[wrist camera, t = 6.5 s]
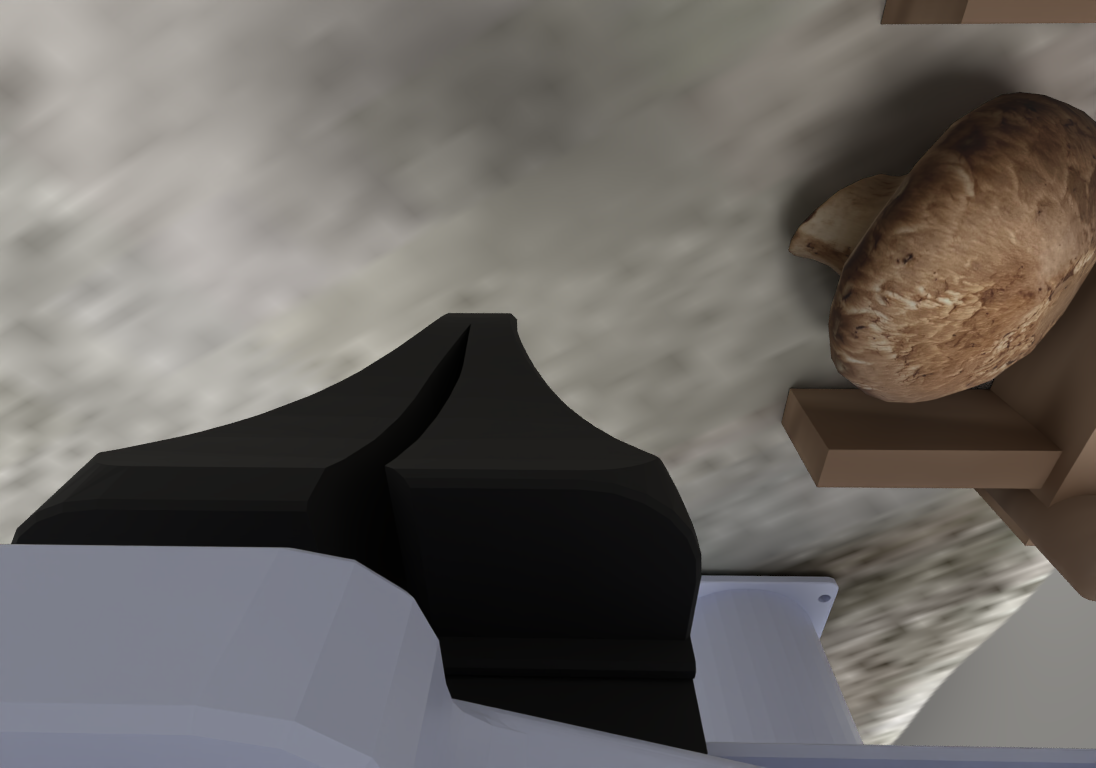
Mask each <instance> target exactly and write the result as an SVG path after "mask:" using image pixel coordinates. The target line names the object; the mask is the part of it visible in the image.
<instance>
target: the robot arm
mask: <svg viewBox="0 0 1096 768" xmlns="http://www.w3.org/2000/svg"><path fill="white" fill-rule="evenodd" d="M838 588H839V587H838V585H837V583H836V581H835V580H834V579H833V578H831V577H813V576H707V575H701V551H700V548H699V544H698V539H697V536H696V533H695V530H694V527H693V524H692V522H691V519H690V517H689V515H688V512H687V510H686V508H685V505H684V503H683V501H682V499H681V497H680V495H679V492H678V490H677V488H676V486H675V484H674V483H673V481H672V479H671V477H670V475H669V473H668V471H667V469H666V468H665V466H664V464H663V462H662V461H661V460H660V458H659V457H657V456H654V455H652V454H650V453H647V452H645V451H643V450H640V449H638V448H636V447H634V446H631V445H629V444H627V443H624V442H622V441H620V440H618V439H616V438H614V437H612V436H610V435H609V434H607V433H605V432H603V431H602V430H600V429H598V428H597V427H595V426H593V425H592V424H590V423H589V422H587V421H586V420H584V419H583V418H582V417H580V416H579V415H578V414H577V413H575V412H574V411H573V410H572V409H570V408H569V407H568V406H567V405H566V404H565V403H564V402H563V401H562V400H561V399H560V398H559V397H558V396H557V395H556V394H555V393H554V392H553V391H552V390H551V388H550V387H549V386H548V385H547V383H546V382H545V381H544V380H543V378H542V377H541V375H540V374H539V372H538V371H537V370H536V368H535V367H534V365H533V363H532V362H531V360H530V358H529V356H528V354H527V353H526V351H525V349H524V347H523V345H522V342H521V340H520V338H519V335H518V332H517V319H516V318H515V317H514V316H513V315H512V314H511V313H448V314H446V315H444V316H442V317H440V318H439V319H437V320H436V321H435V322H433V323H432V324H430V325H429V326H428V327H426V328H425V329H423V330H422V331H421V332H419V333H418V334H416V335H415V336H414V337H412V338H411V339H409V340H408V341H406V342H405V343H404V344H402V345H401V346H399V347H398V348H396V349H395V350H393V351H392V352H390V353H389V354H387V355H385V356H384V357H382V358H381V359H379V360H377V361H376V362H374V363H373V364H371V365H369V366H368V367H366V368H364V369H363V370H361V371H359V372H358V373H356V374H354V375H352V376H350V377H348V378H346V379H344V380H343V381H341V382H339V383H336V384H334V385H332V386H330V387H328V388H326V389H324V390H322V391H320V392H317V393H315V394H313V395H310V396H308V397H305V398H303V399H300V400H297V401H295V402H292V403H290V404H287V405H284V406H282V407H279V408H276V409H274V410H271V411H268V412H266V413H263V414H260V415H257V416H254V417H251V418H247V419H244V420H241V421H238V422H234V423H231V424H228V425H224V426H220V427H216V428H213V429H209V430H205V431H202V432H198V433H194V434H189V435H185V436H181V437H177V438H172V439H167V440H162V441H157V442H152V443H147V444H142V445H137V446H132V447H127V448H122V449H117V450H112V451H106V452H100V453H98V454H97V455H95V456H94V457H93V458H92V459H91V460H90V461H89V462H88V463H87V464H86V465H85V466H84V467H83V468H81V469H80V470H79V471H78V472H77V473H76V474H75V475H74V476H73V477H72V478H71V479H70V480H69V481H68V482H66V483H65V484H64V485H63V486H62V487H61V488H60V489H59V490H58V491H57V492H56V493H55V494H54V495H52V496H51V497H50V498H49V499H48V500H47V501H46V502H45V503H44V504H43V505H42V506H41V507H40V508H39V509H37V510H36V511H35V512H34V513H33V514H32V515H31V516H30V517H29V518H28V519H27V520H26V521H25V522H24V523H22V524H21V525H20V526H19V527H18V528H17V530H16V532H15V535H14V538H13V540H12V543H11V544H0V768H1096V749H1078V748H1076V749H1075V748H1023V747H969V746H968V747H967V746H914V745H864V744H863V742H862V739H861V737H860V734H859V732H858V730H857V727H856V725H855V723H854V720H853V718H852V716H851V713H850V711H849V708H848V706H847V704H846V701H845V699H844V697H843V694H842V692H841V690H840V687H839V685H838V682H837V680H836V678H835V675H834V673H833V671H832V668H831V666H830V664H829V661H828V659H827V656H826V654H825V652H824V649H823V647H822V645H821V642H820V640H819V639H820V637H821V634H822V632H823V629H824V626H825V624H826V621H827V618H828V616H829V613H830V611H831V608H832V605H833V603H834V600H835V598H836V595H837V592H838Z"/></svg>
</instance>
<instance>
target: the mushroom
mask: <svg viewBox="0 0 1096 768" xmlns="http://www.w3.org/2000/svg"><path fill="white" fill-rule="evenodd" d="M789 252H790V253H792V254H793V255H795V256H799V257H804V258H809V259H814V260H816V261H818V262H821V263H823V264H825V265H828V266H830V267H831V268H832V269H833V270H834V271H835V272H837V273H838V274H839V275H840V279H839V282H838V286H837V289H836V292H835V295H834V298H833V302H832V305H831V308H830V315H829V323H828V326H829V337H830V348H831V358H832V360H833V362H834V364H835V366H836V368H837V370H838V372H839V373H840V374H841V375H843V376H844V377H845V378H846V379H848V380H849V381H850V382H851V383H853V384H854V385H855V386H856V387H858V388H859V389H860V390H861V391H863V392H864V393H865V394H866V395H869V396H872V397H875V398H878V399H880V400H883V401H886V402H899V403H915V402H921V401H928V400H934V399H937V398H940V397H944V396H947V395H950V394H953V393H956V392H960V391H963V390H966V389H969V388H972V387H975V386H977V385H980V384H983V383H985V382H988V381H991V380H993V379H994V378H995V377H996V376H998V375H999V374H1000V373H1002V372H1003V371H1004V370H1006V369H1007V368H1008V367H1010V366H1011V365H1012V364H1014V363H1015V362H1017V361H1018V360H1020V359H1022V358H1023V357H1025V356H1026V355H1028V354H1029V353H1031V352H1032V350H1033V349H1034V348H1035V347H1036V346H1037V344H1038V343H1039V342H1040V341H1041V340H1042V338H1043V337H1044V336H1045V335H1046V334H1047V332H1048V331H1049V330H1050V329H1051V328H1052V327H1053V325H1054V324H1055V323H1056V322H1057V321H1058V319H1059V318H1060V317H1061V316H1062V315H1063V313H1064V312H1065V310H1066V309H1067V307H1068V306H1069V304H1070V302H1071V301H1072V299H1073V298H1074V296H1075V294H1076V293H1077V291H1078V290H1079V288H1080V287H1081V285H1082V283H1083V282H1084V280H1085V279H1086V277H1087V276H1088V274H1089V272H1090V271H1091V269H1092V267H1093V265H1094V264H1095V262H1096V122H1095V121H1094V120H1093V119H1092V118H1091V117H1089V116H1088V115H1087V114H1086V113H1085V112H1084V111H1081V110H1079V109H1077V108H1075V107H1073V106H1071V105H1069V104H1067V103H1064V102H1062V101H1059V100H1056V99H1053V98H1051V97H1048V96H1045V95H1040V94H1031V93H1023V92H1019V93H1011V94H1003V95H1000V96H998V97H996V98H994V99H992V100H990V101H988V102H987V103H985V104H983V105H981V106H979V107H978V108H976V109H975V110H973V111H972V112H970V113H968V114H967V115H965V116H964V117H962V118H960V119H959V120H957V121H956V122H954V123H953V124H952V125H951V126H950V127H949V128H948V129H947V130H946V131H945V133H944V134H943V135H942V136H941V137H940V138H939V139H938V140H937V141H936V142H935V143H934V144H933V146H932V147H931V148H930V149H929V150H928V151H927V152H926V153H925V154H924V155H923V156H922V158H921V159H920V160H919V161H918V162H917V163H916V164H915V166H914V167H913V169H912V170H911V171H910V173H909V174H906V175H903V176H890V175H885V174H878V175H875V176H871V177H868V178H864V179H861V180H859V181H857V182H855V183H853V184H851V185H849V186H847V187H845V188H843V189H841V190H839V191H838V192H836V193H835V194H834V195H833V196H832V197H830V198H829V199H828V200H827V201H826V202H824V203H823V204H822V205H821V206H819V207H818V208H817V209H816V210H815V211H814V212H813V213H812V214H811V215H810V216H809V217H808V218H807V219H806V220H805V221H804V222H803V223H802V224H801V225H800V226H799V228H798V229H797V231H796V233H795V234H794V236H793V238H792V239H791V242H790V246H789Z"/></svg>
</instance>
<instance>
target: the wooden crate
mask: <svg viewBox="0 0 1096 768" xmlns="http://www.w3.org/2000/svg"><path fill="white" fill-rule="evenodd" d="M995 23H1096V0H887V1H886V5H885V9H884V13H883V17H882V21H881V24H995ZM782 425H783V427H784V429H785V430H786V432H787V434H788V436H789V438H790V439H791V441H792V443H793V445H794V447H795V448H796V450H797V452H798V454H799V455H800V457H801V459H802V461H803V463H804V464H805V466H806V468H807V470H808V472H809V473H810V475H811V477H812V479H813V481H814V482H815V484H816V486H817V487H862V488H974V489H975V490H976V491H977V492H978V493H979V495H980V496H981V497H982V498H983V499H984V500H985V501H986V502H987V503H988V505H989V506H990V507H991V508H992V509H993V510H994V511H995V512H996V514H997V515H998V516H999V517H1000V518H1001V519H1002V520H1003V521H1004V522H1005V524H1006V525H1007V526H1008V527H1009V528H1010V529H1011V530H1012V531H1013V533H1014V534H1015V535H1016V536H1017V537H1018V538H1019V539H1020V540H1021V541H1022V543H1023V544H1024V545H1025V546H1036V547H1037V548H1038V550H1039V551H1040V552H1041V553H1042V554H1043V555H1044V556H1045V557H1046V558H1047V559H1048V560H1049V562H1050V563H1051V564H1052V565H1053V566H1054V567H1055V568H1056V569H1057V570H1058V571H1059V573H1060V574H1061V575H1062V576H1063V577H1064V578H1065V579H1066V580H1067V581H1068V582H1069V583H1070V584H1071V586H1072V587H1073V588H1074V589H1075V590H1076V591H1077V592H1078V593H1079V594H1080V595H1081V596H1082V597H1084V598H1086V599H1088V600H1092V601H1096V262H1095V264H1094V265H1093V267H1092V269H1091V271H1090V272H1089V274H1088V276H1087V277H1086V279H1085V280H1084V282H1083V283H1082V285H1081V287H1080V288H1079V290H1078V291H1077V293H1076V294H1075V296H1074V298H1073V299H1072V301H1071V302H1070V304H1069V306H1068V307H1067V309H1066V310H1065V312H1064V313H1063V315H1062V316H1061V317H1060V318H1059V319H1058V321H1057V322H1056V323H1055V324H1054V325H1053V327H1052V328H1051V329H1050V330H1049V331H1048V332H1047V334H1046V335H1045V336H1044V337H1043V338H1042V340H1041V341H1040V342H1039V343H1038V344H1037V346H1036V347H1035V348H1034V349H1033V350H1032V352H1031V353H1029V354H1028V355H1026V356H1025V357H1023V358H1022V359H1020V360H1018V361H1017V362H1015V363H1014V364H1012V365H1011V366H1010V367H1008V368H1007V369H1006V370H1004V371H1003V372H1002V373H1000V374H999V375H998V376H996V377H995V379H994V382H993V384H992V386H991V388H990V389H966V390H963V391H960V392H956V393H953V394H950V395H947V396H944V397H940V398H937V399H934V400H928V401H921V402H915V403H899V402H886V401H883V400H880V399H878V398H875V397H872V396H869V395H866V394H865V393H864V392H863V391H861V390H860V389H790V391H789V395H788V399H787V403H786V407H785V411H784V415H783V419H782Z"/></svg>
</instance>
